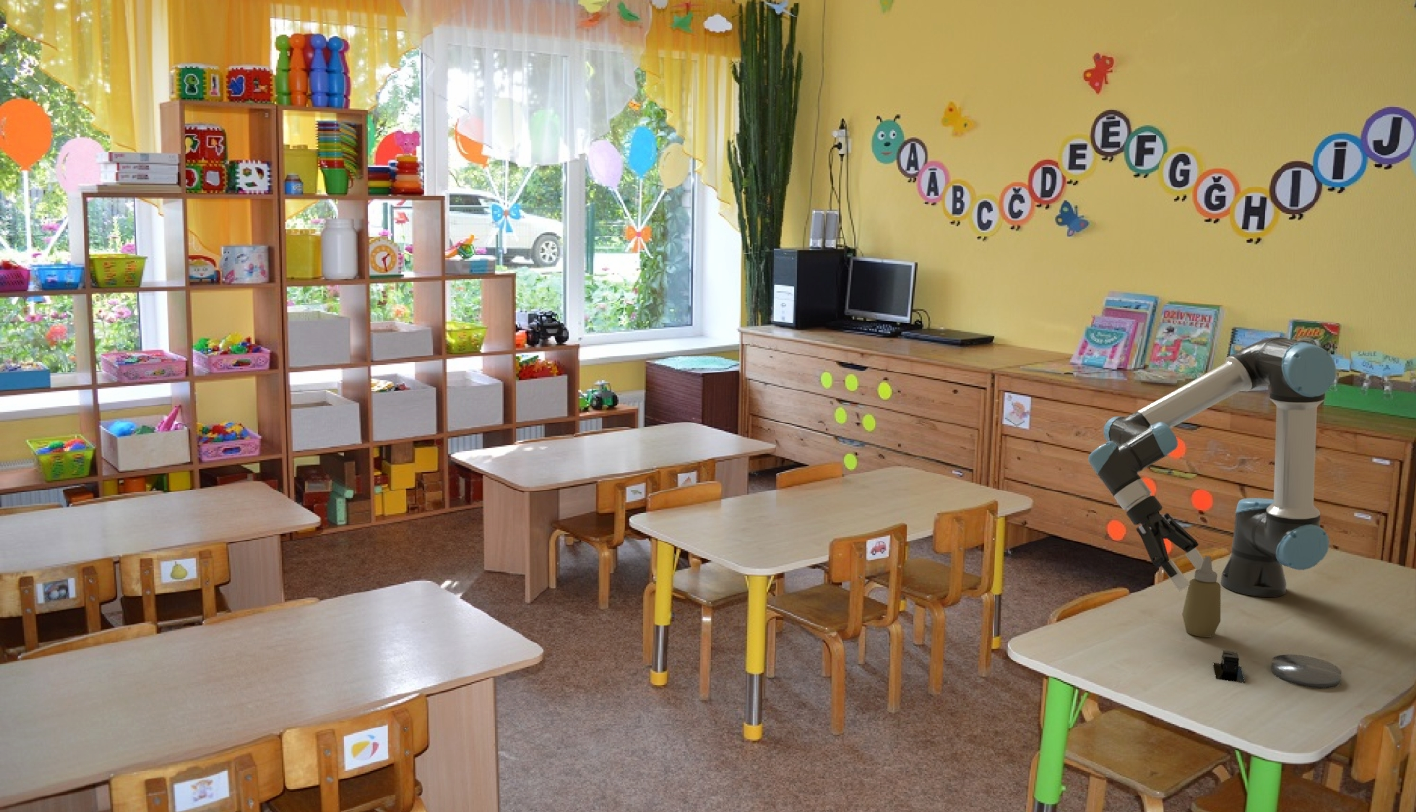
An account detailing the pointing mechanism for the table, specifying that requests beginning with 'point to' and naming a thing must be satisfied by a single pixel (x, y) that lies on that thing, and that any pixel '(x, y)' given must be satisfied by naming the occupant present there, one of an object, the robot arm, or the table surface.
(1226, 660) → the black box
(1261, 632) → the table surface
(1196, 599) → the squeeze bottle
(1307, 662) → the cap
